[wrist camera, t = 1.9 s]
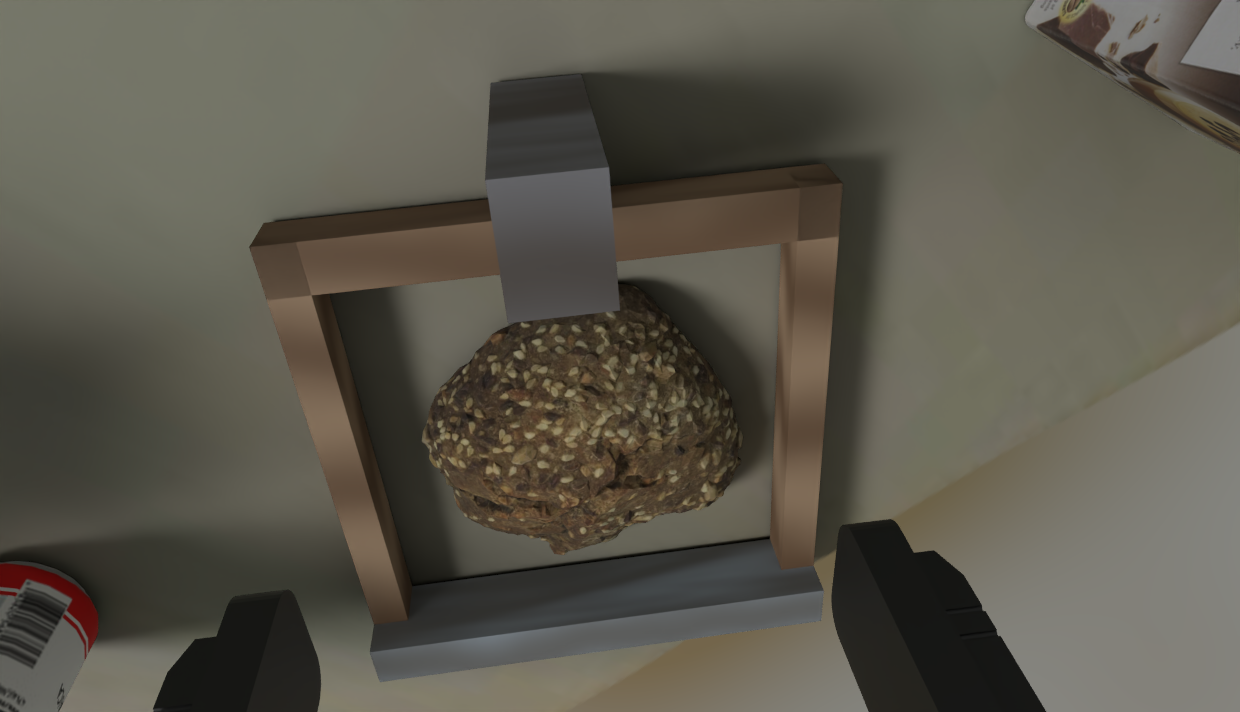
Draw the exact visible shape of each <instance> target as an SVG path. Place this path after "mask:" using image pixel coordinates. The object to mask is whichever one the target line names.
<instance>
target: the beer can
mask: <svg viewBox="0 0 1240 712" xmlns="http://www.w3.org/2000/svg"><path fill="white" fill-rule="evenodd" d="M97 634H98V613H97V611H96V609H95V607H94V605H93V603H92V601H91V599H90V597H89V595H87V594H86V592H85V590H84V589H83V588H82V587H81V586H80V585H79V584H78V583H77V582H76V581H75V580H74V579H73V578H71V577H70V576H68V575H66V574H64V573H63V572H61V571H59V570H57V569H54V568H51V567H48V566H45V565H42V564H39V563H32V562H23V561H11V562H0V712H59V710H60V708H61V706H62V704H63V702H64V700H65V698H66V696H67V694H68V693H69V691H70V689H71V687H72V685H73V683H74V681H75V679H76V677H77V675H78V673H79V671H80V669H81V667H82V665H83V663H84V661H85V659H86V657H87V655H88V653H89V651H90V649H91V647H92V645H93V643H94V641H95V639H96V637H97Z"/></svg>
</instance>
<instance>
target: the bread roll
mask: <svg viewBox="0 0 1240 712" xmlns="http://www.w3.org/2000/svg"><path fill="white" fill-rule="evenodd" d="M618 291H619V304H620V311H611V312H602V313H594V314H585V315H576V316H568V317H559V318H550V319H542V320H533V321H524V322H516V323H515V324H513V325H511V326H509V327H507V328H503V329H501V330H499V331H497V332H495V333H494V334H492V335H491V336H490V338H489V339H488V340H487V341H486V343H485V344H484V345H483V347H481V348H480V349H479V350H477V351H476V353H475V355H474V357H473V358H472V360H471V361H470V362H469V363H468V364H466V365H464V366H462V367H461V368H459V369H458V370H457V371H456V373H455V374H454V375H453V376H452V377H451V378H450V380H449V381H448V382H446V383H445V384H444V385H443V386H441V387H440V389H439V391H438V393H437V395H436V396H435V399H434V401H433V403H432V405H431V408H430V410H429V418H428V421H427V423H426V426H425V428H424V430H423V435H422V442H423V443H424V444H425V445H426V446H427V447H428V449H429V451H430V454H429V459H430V461H431V463H432V464H433V465H434V466H435V467H436V468H439V469H440V471H441V473H442V474H444V476H445V478H446V484H448V485H450V486H452V487H453V490H454V497H455V500H456V503H457V505H458V507H459V508H460V510H461V511H462V512H463V514H464V515H465V517H468V518H469V519H471V520H472V521H475V522H477V523H479V524H481V525H482V526H484V527H488V528H491V529H494V530H496V531H501V532H505V533H511V534H516V535H520V534H524V535H527V536H529V537H530V538H531V539H532V538H539V537H541V540H543V541H548V542H549V543H550V545H549V546H550V547H551V549H552V550H553V552H554V554H560V555H564V554H565V553H567V552H568V551H570V550H577V549H581V548H584V547H587V546H590V545H595V544H597V543H601V542H607V541H610V540H612V539H614V538H616V537H617V536H618V534H619V533H620V532H621V531H622V530H623V529H626V528H627V527H628V526H630V525H632V524H635V523H646V522H648V521H650V520H652V519H653V518H654V517H655V516H659V515H663V514H665V513H673V512H676V513H682V512H686V511H689V510H692V509H694V510H701V509H702V508H705V507H708V506H709V505H710V504H712V503H713V502H715V501H716V500H717V499H718V498H719V497H721V496H723V494H724V490H725V489H726V487H727V486H728V485H729V484H730V482H731V480H732V478H733V475H734V472H735V470H736V469H737V467H738V466H739V465H740V463H741V459H740V458H739V457H738V450H739V448H741V446H742V441H743V435H742V432H741V430H740V428H739V426H738V425H737V420H736V416H735V413H734V411H733V408H732V400H731V397H730V396H729V394H728V393H727V391H726V390H725V388H724V387H723V385H722V384H721V383H720V381H719V379H718V378H717V376H716V374H715V373H714V371H713V369H712V367H711V366H710V365H709V363H708V362H707V361H706V360H705V359H704V357H703V356H702V355H701V354H700V353H699V352H698V351H697V349H696V348H695V347H694V345H693V344H692V343H691V342H689V341H688V340H686V338H685V337H684V335H683V334H682V333H681V332H680V331H679V330H678V328H677V327H676V326H675V324H674V323H673V322H672V321H671V319H670V317H669V315H667V314H666V313H664V312H663V311H662V310H661V309H660V308H659V307H658V306H657V305H656V303H655V301H654V300H653V298H651V297H650V296H649V295H647V294H646V293H644V292H643V291H641V290H640V289H638V288H637V287H635V286H631V285H625V284H618Z"/></svg>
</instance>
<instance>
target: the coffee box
mask: <svg viewBox="0 0 1240 712" xmlns="http://www.w3.org/2000/svg"><path fill="white" fill-rule="evenodd" d="M1025 20H1026V24H1027V25H1028V26H1029V27H1030V28H1032V29H1033V30H1035V31H1036V32H1038V33H1039V34H1041V35H1042V36H1044V37H1045V38H1047V39H1048V40H1050V41H1051V42H1053V43H1054V44H1056V45H1057V46H1059V47H1060V48H1062V49H1064V50H1065V51H1067V52H1068V53H1070V54H1071V55H1073V56H1075V57H1076V58H1078V59H1079V60H1081V61H1083V62H1084V63H1086V64H1087V65H1089V66H1090V67H1092V68H1094V69H1095V70H1097V71H1098V72H1100V73H1101V74H1103V75H1104V76H1106V77H1108V78H1109V79H1111V80H1112V81H1114V82H1115V83H1117V84H1118V85H1120V86H1121V87H1123V88H1124V89H1126V90H1128V91H1129V92H1131V93H1132V94H1134V95H1135V96H1137V97H1138V98H1140V99H1142V100H1143V101H1145V102H1146V103H1148V104H1149V105H1151V106H1152V107H1154V108H1156V109H1157V110H1159V111H1160V112H1162V113H1163V114H1165V115H1166V116H1168V117H1169V118H1171V119H1173V120H1174V121H1176V122H1177V123H1179V124H1180V125H1182V126H1183V127H1185V128H1187V129H1188V130H1190V131H1192V132H1194V133H1196V134H1198V135H1201V136H1203V137H1205V138H1207V139H1209V140H1211V141H1213V142H1215V143H1218V144H1220V145H1222V146H1224V147H1226V148H1228V149H1231V150H1233V151H1235V152H1237V153H1239V154H1240V0H1035V1H1034V2H1033V4H1032V5H1031V6H1030V8H1029V10H1028V11H1027V13H1026V16H1025Z"/></svg>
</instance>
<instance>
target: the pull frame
mask: <svg viewBox="0 0 1240 712" xmlns="http://www.w3.org/2000/svg"><path fill="white" fill-rule="evenodd" d="M485 182H486V188H487V195H488V199H485V200H476V201H466V202H457V203H448V204H438V205H429V206H419V207H410V208H400V209H391V210H382V211H372V212H363V213H353V214H344V215H335V216H325V217H316V218H306V219H297V220H287V221H278V222H269V223H264V224H263V225H262V227H261V229H260V230H259V232H258V234H257V235H256V237H255V239H254V240H253V242H252V244H251V245H250V247H249V248H250V251H251V254H252V257H253V260H254V263H255V266H256V269H257V272H258V275H259V278H260V281H261V284H262V287H263V290H264V293H265V296H266V299H267V302H268V305H269V308H270V311H271V314H272V317H273V320H274V323H275V326H276V329H277V332H278V335H279V338H280V341H281V344H282V347H283V350H284V353H285V356H286V359H287V362H288V366H289V369H290V372H291V375H292V378H293V381H294V384H295V387H296V390H297V393H298V396H299V399H300V402H301V405H302V408H303V411H304V414H305V417H306V420H307V423H308V426H309V429H310V432H311V435H312V438H313V441H314V444H315V447H316V450H317V453H318V456H319V459H320V462H321V465H322V468H323V471H324V474H325V477H326V480H327V483H328V486H329V489H330V492H331V495H332V499H333V502H334V505H335V508H336V511H337V514H338V517H339V520H340V523H341V526H342V529H343V532H344V535H345V538H346V541H347V544H348V547H349V550H350V553H351V556H352V559H353V562H354V565H355V568H356V571H357V574H358V577H359V580H360V583H361V586H362V589H363V592H364V595H365V598H366V601H367V604H368V607H369V610H370V613H371V616H372V619H373V622H374V630H373V636H372V642H371V648H370V655H371V657H372V660H373V663H374V666H375V669H376V672H377V675H378V678H379V681H380V682H383V681H390V680H397V679H405V678H412V677H419V676H426V675H434V674H441V673H448V672H455V671H462V670H470V669H477V668H484V667H491V666H499V665H506V664H513V663H520V662H527V661H535V660H542V659H549V658H556V657H564V656H571V655H578V654H585V653H592V652H600V651H607V650H614V649H621V648H629V647H636V646H643V645H650V644H657V643H665V642H672V641H679V640H686V639H693V638H701V637H708V636H714V635H722V634H729V633H737V632H744V631H751V630H758V629H766V628H773V627H780V626H787V625H795V624H802V623H809V622H816V621H821V615H822V604H823V603H822V602H823V593H824V591H823V588H822V585H821V583H820V581H819V578H818V576H817V573H816V571H815V568H814V566H813V565H814V552H815V539H816V526H817V513H818V500H819V488H820V475H821V462H822V449H823V436H824V423H825V410H826V397H827V384H828V371H829V358H830V345H831V332H832V319H833V306H834V293H835V280H836V267H837V254H838V241H839V228H840V215H841V202H842V189H843V183H842V182H841V181H840V180H839V178H838V177H837V176H836V175H835V174H834V173H833V172H832V171H831V170H830V169H829V168H828V167H827V165H826V164H825V163H824V164H815V165H805V166H796V167H787V168H777V169H768V170H758V171H749V172H739V173H730V174H721V175H711V176H702V177H692V178H683V179H674V180H664V181H655V182H645V183H636V184H626V185H617V186H610V175H609V166H608V162H607V159H606V156H605V152H604V149H603V146H602V142H601V139H600V135H599V132H598V129H597V125H596V122H595V118H594V115H593V112H592V108H591V105H590V102H589V98H588V95H587V91H586V88H585V85H584V81H583V78H582V75H581V74H576V75H566V76H556V77H545V78H535V79H525V80H515V81H505V82H494V83H491V87H490V105H489V122H488V140H487V157H486V175H485ZM778 243H781V262H780V289H779V315H778V342H777V369H776V395H775V422H774V448H773V475H772V501H771V528H770V539H767V540H759V541H751V542H744V543H736V544H729V545H721V546H714V547H706V548H699V549H691V550H683V551H676V552H668V553H661V554H653V555H646V556H638V557H630V558H623V559H615V560H608V561H600V562H593V563H585V564H577V565H570V566H562V567H555V568H547V569H540V570H532V571H525V572H517V573H509V574H502V575H494V576H487V577H479V578H472V579H464V580H456V581H449V582H441V583H434V584H426V585H419V586H412V584H411V580H410V577H409V573H408V570H407V566H406V563H405V559H404V556H403V552H402V548H401V545H400V541H399V538H398V534H397V531H396V527H395V524H394V520H393V517H392V513H391V510H390V506H389V503H388V499H387V496H386V492H385V489H384V485H383V482H382V478H381V475H380V471H379V468H378V464H377V461H376V457H375V454H374V450H373V447H372V443H371V440H370V436H369V433H368V429H367V426H366V422H365V419H364V415H363V412H362V408H361V405H360V401H359V398H358V394H357V391H356V387H355V384H354V380H353V376H352V373H351V369H350V366H349V362H348V359H347V355H346V352H345V348H344V345H343V341H342V338H341V334H340V331H339V327H338V324H337V320H336V317H335V313H334V310H333V306H332V303H331V299H330V296H329V293H338V292H347V291H356V290H365V289H374V288H383V287H392V286H401V285H410V284H419V283H428V282H437V281H446V280H455V279H464V278H473V277H482V276H491V275H500V276H501V282H502V288H503V295H504V301H505V307H506V313H507V320H508V323H515V322H524V321H533V320H542V319H550V318H559V317H568V316H576V315H585V314H594V313H602V312H611V311H620V304H619V291H618V278H617V265H616V261H625V260H634V259H643V258H652V257H661V256H670V255H679V254H688V253H697V252H706V251H715V250H724V249H733V248H742V247H751V246H760V245H769V244H778Z"/></svg>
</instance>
